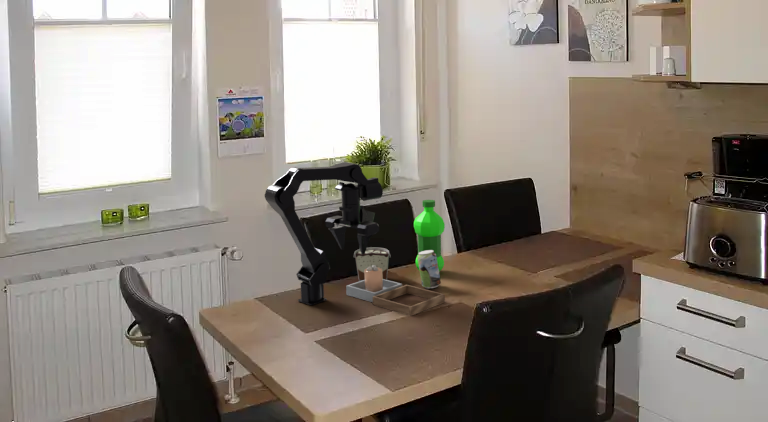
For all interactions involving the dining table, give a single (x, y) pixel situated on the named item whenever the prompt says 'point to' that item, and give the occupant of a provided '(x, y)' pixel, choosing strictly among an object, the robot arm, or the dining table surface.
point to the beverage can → (428, 269)
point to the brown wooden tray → (385, 302)
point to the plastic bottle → (429, 231)
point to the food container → (372, 260)
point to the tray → (361, 293)
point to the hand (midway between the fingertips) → (352, 251)
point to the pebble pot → (373, 279)
